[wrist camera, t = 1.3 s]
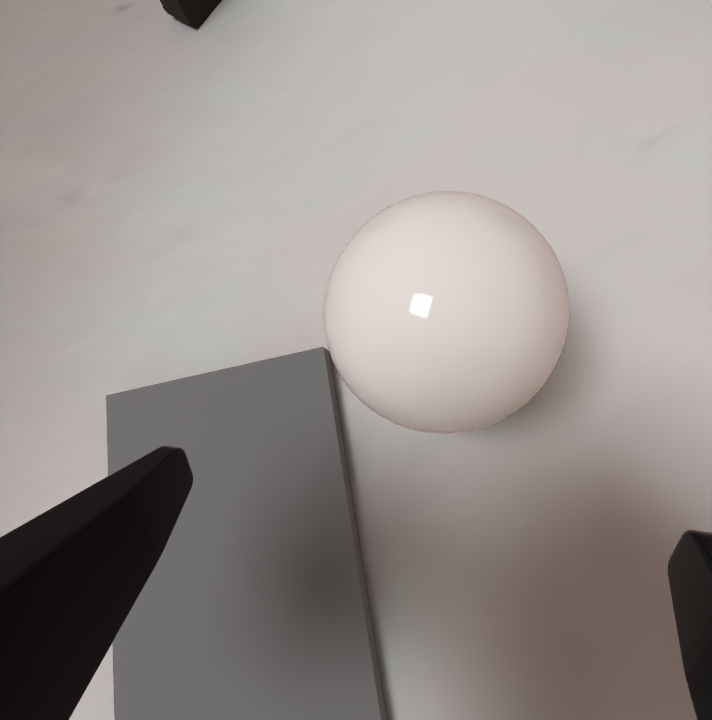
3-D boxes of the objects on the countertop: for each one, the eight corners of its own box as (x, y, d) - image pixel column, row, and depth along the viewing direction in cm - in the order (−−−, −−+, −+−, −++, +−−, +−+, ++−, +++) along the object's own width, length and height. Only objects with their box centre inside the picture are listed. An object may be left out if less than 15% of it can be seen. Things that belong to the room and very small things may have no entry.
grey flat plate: (402, 820, 17) (399, 842, 16) (135, 833, 18) (118, 853, 17) (329, 352, 21) (323, 346, 20) (120, 398, 23) (106, 395, 22)
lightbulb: (554, 357, 19) (676, 225, 9) (461, 477, 19) (469, 494, 8) (432, 276, 21) (409, 87, 10) (345, 384, 21) (233, 303, 10)
